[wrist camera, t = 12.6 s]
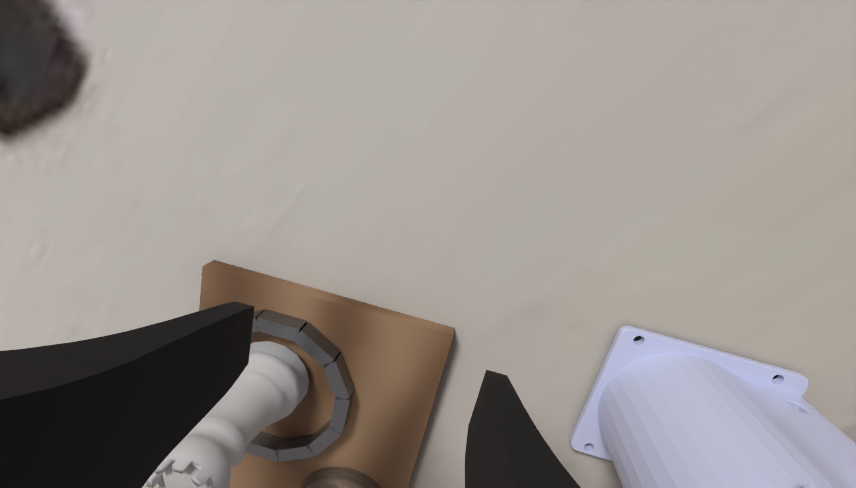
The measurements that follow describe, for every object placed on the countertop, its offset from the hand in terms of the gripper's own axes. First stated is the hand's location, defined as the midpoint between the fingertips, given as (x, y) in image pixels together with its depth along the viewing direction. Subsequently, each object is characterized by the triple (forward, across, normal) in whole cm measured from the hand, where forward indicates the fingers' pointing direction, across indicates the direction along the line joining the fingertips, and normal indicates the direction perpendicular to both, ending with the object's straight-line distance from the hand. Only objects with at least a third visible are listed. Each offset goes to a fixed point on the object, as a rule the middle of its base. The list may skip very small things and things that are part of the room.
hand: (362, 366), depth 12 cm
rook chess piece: (+9, +6, +8) cm, 14 cm away
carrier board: (+10, +4, +12) cm, 16 cm away
